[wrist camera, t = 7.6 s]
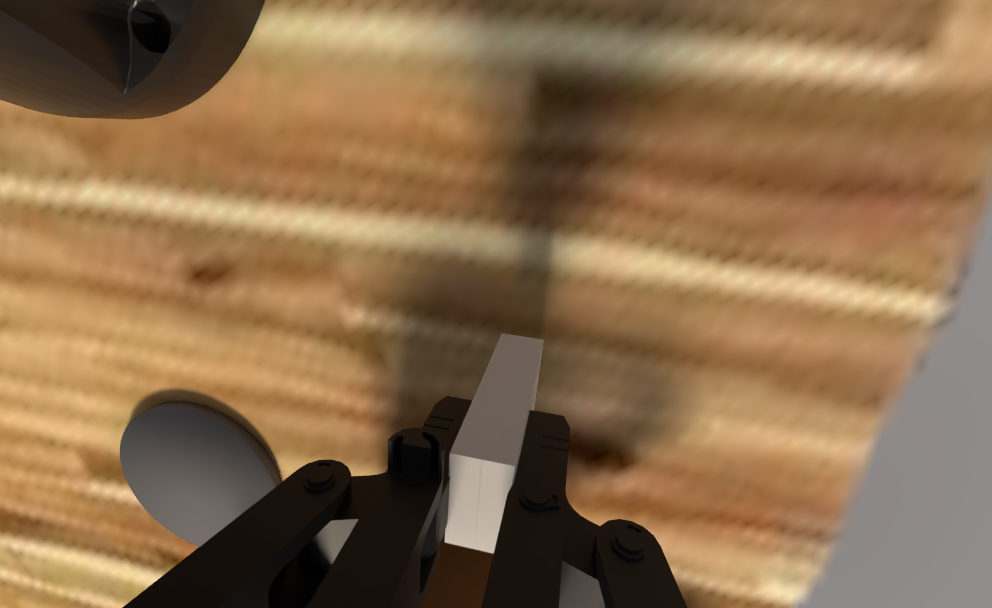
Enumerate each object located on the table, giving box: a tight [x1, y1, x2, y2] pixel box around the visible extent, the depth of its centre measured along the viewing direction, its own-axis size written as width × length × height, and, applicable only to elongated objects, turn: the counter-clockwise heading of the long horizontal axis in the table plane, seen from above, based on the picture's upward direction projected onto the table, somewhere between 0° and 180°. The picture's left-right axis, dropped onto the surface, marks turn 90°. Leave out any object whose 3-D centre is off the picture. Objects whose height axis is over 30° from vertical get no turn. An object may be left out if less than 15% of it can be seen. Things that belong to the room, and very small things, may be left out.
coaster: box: [120, 402, 281, 546], centre depth 24 cm, size 9×9×1 cm
